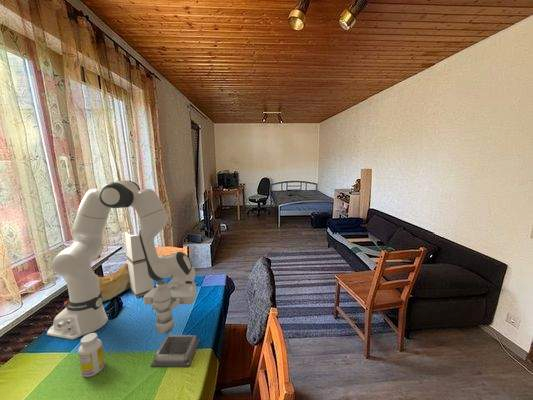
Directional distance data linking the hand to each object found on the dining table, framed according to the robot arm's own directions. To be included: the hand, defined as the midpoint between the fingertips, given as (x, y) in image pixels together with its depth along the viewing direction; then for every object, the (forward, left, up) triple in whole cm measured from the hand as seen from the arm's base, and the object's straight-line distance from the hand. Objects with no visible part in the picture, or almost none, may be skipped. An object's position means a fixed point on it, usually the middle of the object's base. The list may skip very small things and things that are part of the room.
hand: (162, 307), depth 91 cm
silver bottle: (0, +1, -11) cm, 11 cm away
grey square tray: (+5, -1, -18) cm, 19 cm away
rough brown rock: (-50, +43, -18) cm, 68 cm away
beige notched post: (-33, +45, -18) cm, 59 cm away
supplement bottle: (-22, -9, -18) cm, 30 cm away
